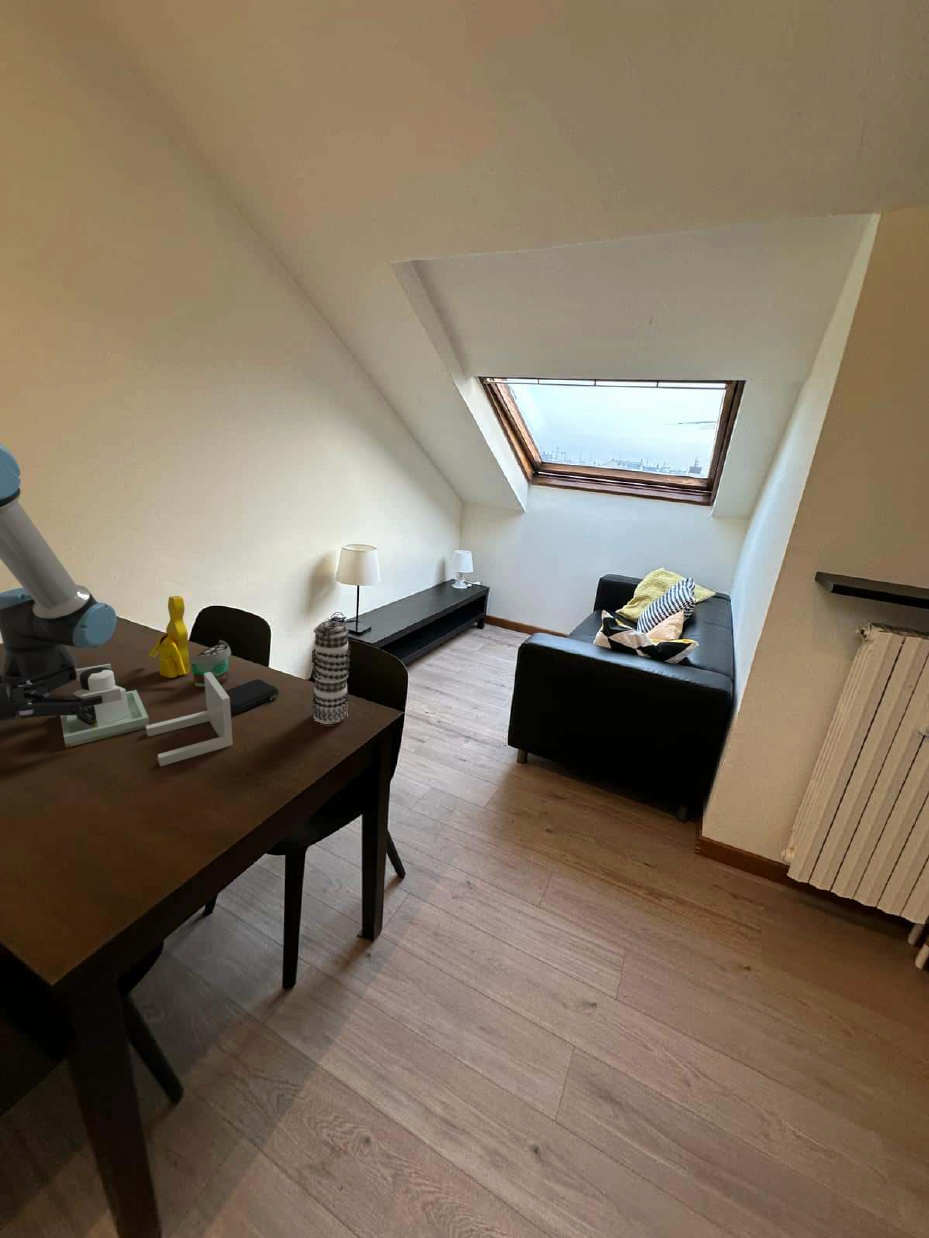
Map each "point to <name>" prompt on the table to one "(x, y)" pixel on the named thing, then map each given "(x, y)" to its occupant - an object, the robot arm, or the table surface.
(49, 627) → the robot arm
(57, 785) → the table surface
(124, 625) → the table surface
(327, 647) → the decorative candle
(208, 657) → the food container
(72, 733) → the tray
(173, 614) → the figure statuette
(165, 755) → the bay
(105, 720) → the medicine bottle
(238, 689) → the carrying case or bag
